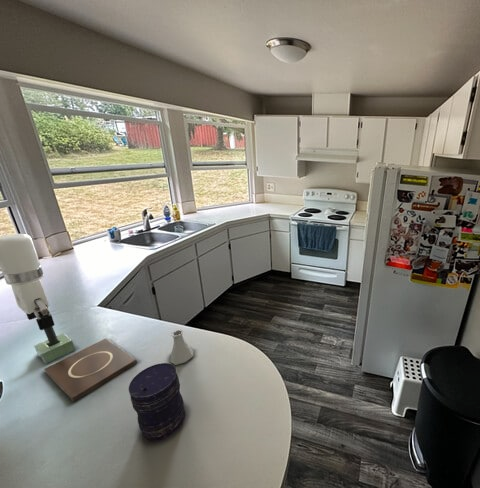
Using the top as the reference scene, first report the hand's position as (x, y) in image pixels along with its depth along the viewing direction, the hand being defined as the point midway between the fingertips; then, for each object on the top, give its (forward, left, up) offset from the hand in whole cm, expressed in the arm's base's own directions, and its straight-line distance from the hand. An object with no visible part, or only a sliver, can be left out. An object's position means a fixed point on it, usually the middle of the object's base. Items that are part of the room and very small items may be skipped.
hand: (41, 322), depth 81 cm
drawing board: (+4, -18, -13) cm, 23 cm away
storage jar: (+5, -55, -13) cm, 57 cm away
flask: (+21, -38, -13) cm, 45 cm away
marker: (+1, 0, -13) cm, 13 cm away
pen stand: (+1, 0, -13) cm, 13 cm away
